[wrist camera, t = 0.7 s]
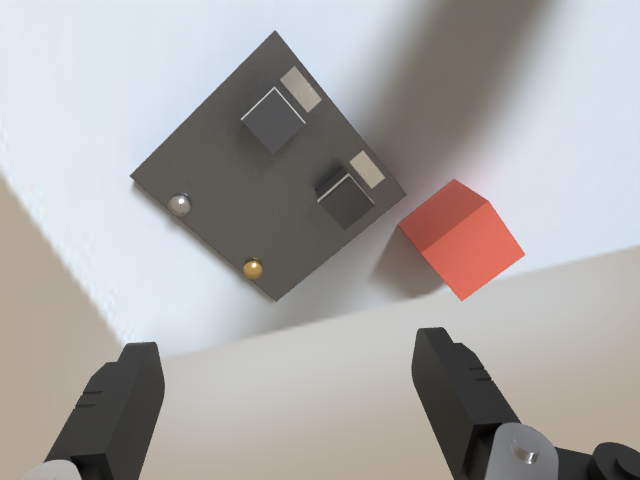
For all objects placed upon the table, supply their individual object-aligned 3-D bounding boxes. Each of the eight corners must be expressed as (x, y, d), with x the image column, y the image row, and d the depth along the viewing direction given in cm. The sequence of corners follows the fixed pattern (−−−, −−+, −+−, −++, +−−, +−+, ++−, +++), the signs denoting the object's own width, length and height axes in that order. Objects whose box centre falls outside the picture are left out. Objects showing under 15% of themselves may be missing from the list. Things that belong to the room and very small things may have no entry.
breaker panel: (274, 31, 28) (275, 29, 26) (399, 187, 35) (409, 196, 32) (137, 169, 31) (127, 178, 29) (275, 289, 37) (276, 305, 35)
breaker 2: (343, 166, 31) (350, 176, 28) (366, 193, 32) (376, 205, 30) (314, 191, 32) (318, 204, 29) (338, 217, 33) (344, 231, 30)
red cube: (453, 178, 35) (488, 200, 29) (488, 226, 37) (525, 254, 32) (397, 224, 36) (420, 253, 31) (434, 267, 39) (461, 301, 33)
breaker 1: (273, 84, 28) (274, 87, 25) (302, 118, 29) (306, 124, 26) (242, 114, 28) (240, 120, 26) (272, 146, 30) (272, 155, 27)
